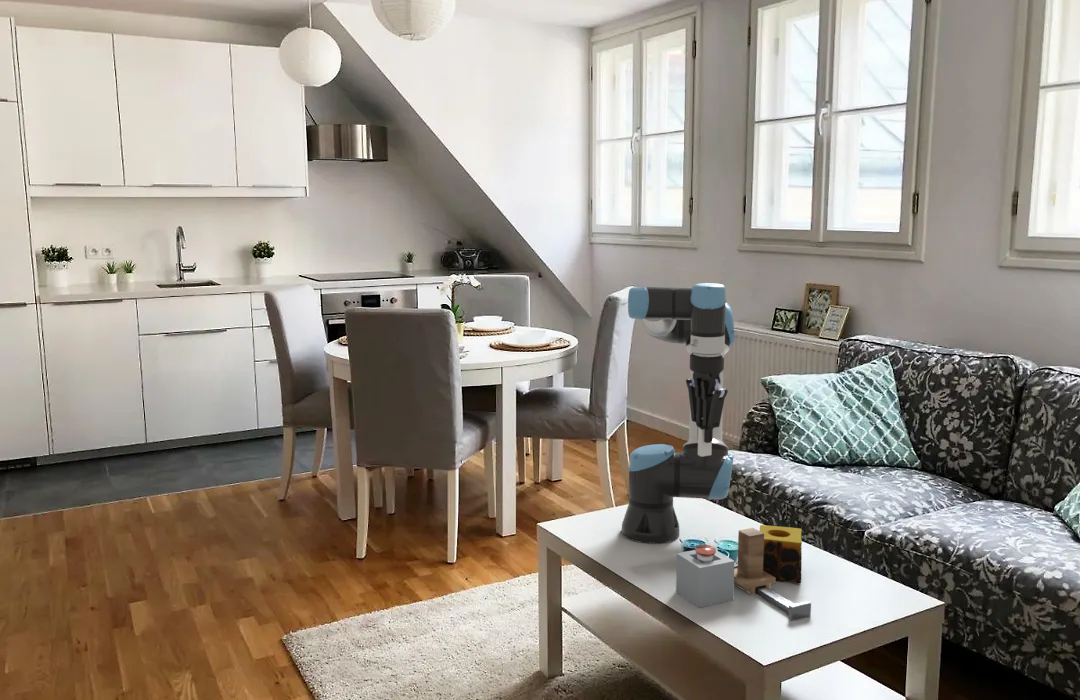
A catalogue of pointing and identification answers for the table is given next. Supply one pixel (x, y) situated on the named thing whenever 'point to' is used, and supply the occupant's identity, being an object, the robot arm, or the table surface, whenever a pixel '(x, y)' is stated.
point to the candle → (782, 553)
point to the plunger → (705, 553)
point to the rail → (784, 603)
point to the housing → (705, 579)
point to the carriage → (751, 561)
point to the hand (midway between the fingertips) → (704, 454)
